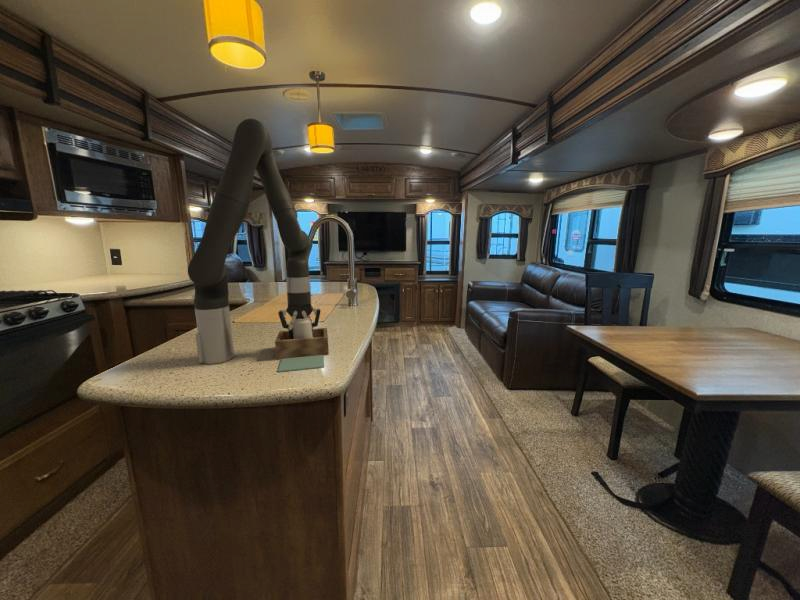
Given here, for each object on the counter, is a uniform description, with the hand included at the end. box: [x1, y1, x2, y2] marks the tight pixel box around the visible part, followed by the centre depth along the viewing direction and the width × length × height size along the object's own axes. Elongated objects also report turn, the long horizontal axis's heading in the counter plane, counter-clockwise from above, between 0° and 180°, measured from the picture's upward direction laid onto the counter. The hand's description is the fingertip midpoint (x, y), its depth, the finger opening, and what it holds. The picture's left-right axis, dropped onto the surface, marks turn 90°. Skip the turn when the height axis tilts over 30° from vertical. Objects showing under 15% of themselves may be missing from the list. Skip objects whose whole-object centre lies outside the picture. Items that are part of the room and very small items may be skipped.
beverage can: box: [293, 315, 313, 339], centre depth 105 cm, size 6×6×12 cm
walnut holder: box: [274, 327, 330, 360], centre depth 106 cm, size 16×12×6 cm
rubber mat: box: [277, 355, 325, 373], centre depth 95 cm, size 13×10×1 cm
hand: (301, 338), depth 106 cm, fingers closed on beverage can, 5 cm apart
